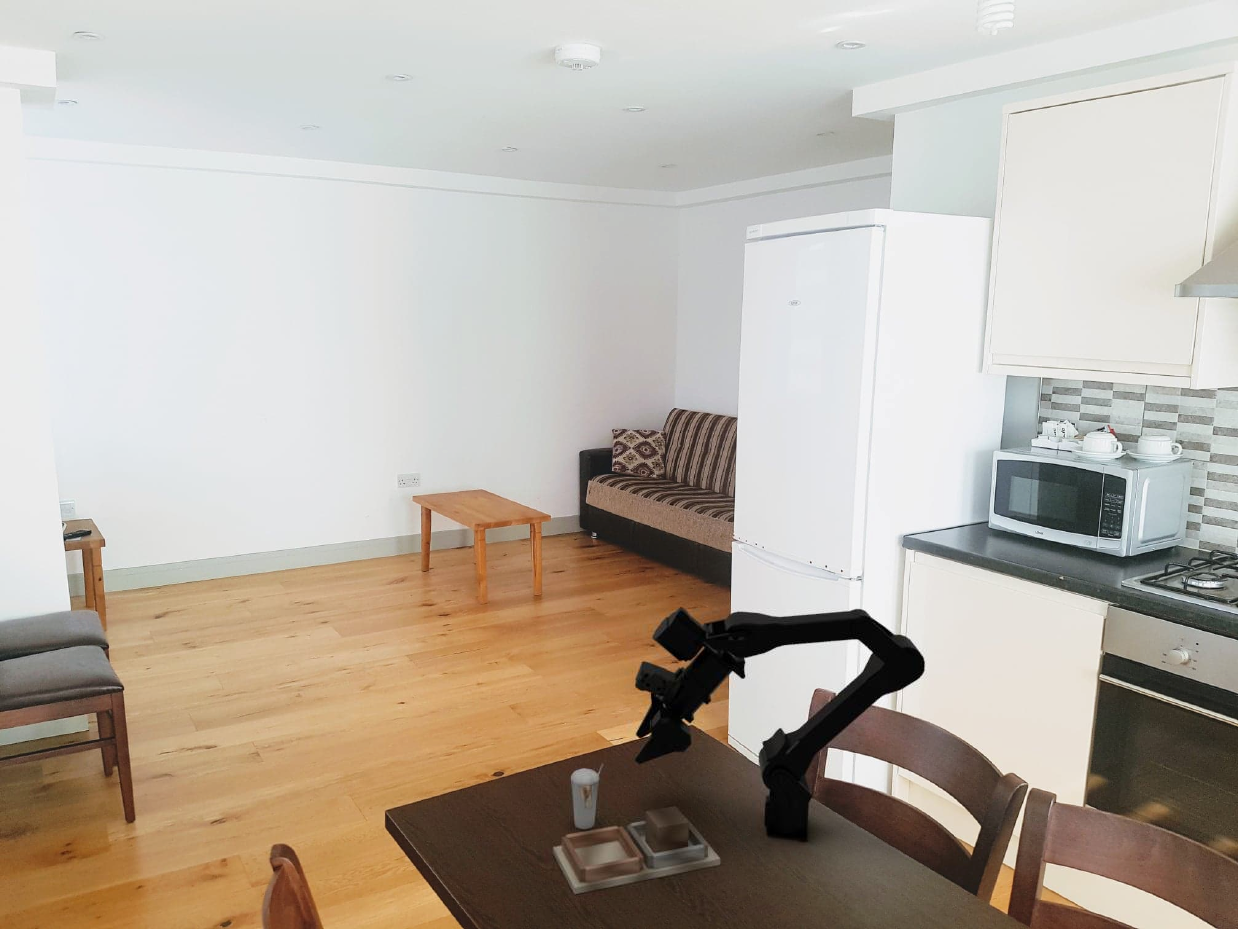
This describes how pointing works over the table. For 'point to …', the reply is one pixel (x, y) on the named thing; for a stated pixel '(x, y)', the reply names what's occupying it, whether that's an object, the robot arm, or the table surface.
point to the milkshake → (584, 796)
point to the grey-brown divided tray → (633, 852)
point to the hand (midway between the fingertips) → (637, 748)
